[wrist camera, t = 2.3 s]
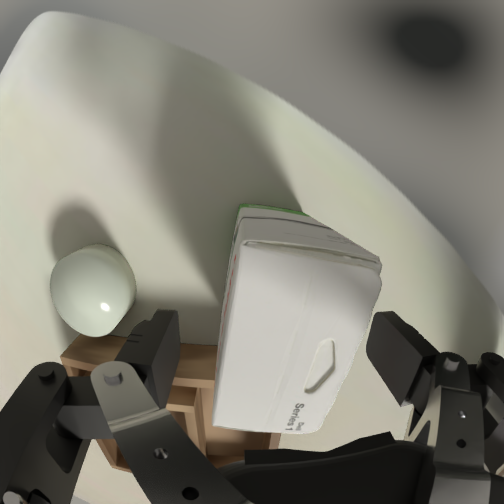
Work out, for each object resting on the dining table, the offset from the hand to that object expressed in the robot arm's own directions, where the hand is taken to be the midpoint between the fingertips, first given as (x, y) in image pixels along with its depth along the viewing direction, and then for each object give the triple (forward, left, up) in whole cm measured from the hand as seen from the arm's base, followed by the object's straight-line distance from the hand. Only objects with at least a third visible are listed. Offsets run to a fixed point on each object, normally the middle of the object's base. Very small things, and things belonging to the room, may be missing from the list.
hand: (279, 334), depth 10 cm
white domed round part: (+13, +2, -10) cm, 17 cm away
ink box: (0, 0, -10) cm, 10 cm away
